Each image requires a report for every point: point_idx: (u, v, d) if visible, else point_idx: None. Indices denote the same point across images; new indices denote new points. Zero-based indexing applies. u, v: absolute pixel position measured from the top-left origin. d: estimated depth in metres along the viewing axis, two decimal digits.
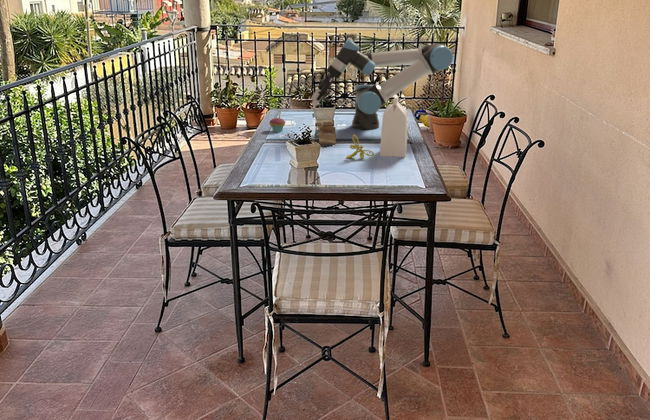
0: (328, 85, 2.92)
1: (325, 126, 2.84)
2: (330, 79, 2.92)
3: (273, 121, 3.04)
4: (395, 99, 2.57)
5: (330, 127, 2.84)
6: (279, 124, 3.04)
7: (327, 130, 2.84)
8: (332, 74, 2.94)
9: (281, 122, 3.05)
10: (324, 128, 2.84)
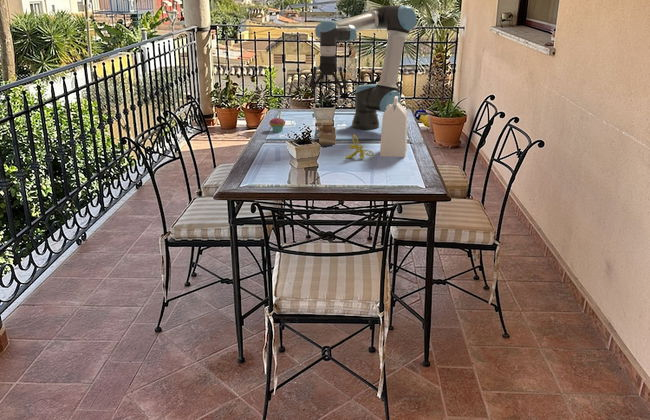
0: (342, 75, 2.76)
1: (325, 126, 2.84)
2: (341, 68, 2.74)
3: (273, 121, 3.04)
4: (395, 99, 2.57)
5: (330, 127, 2.84)
6: (279, 124, 3.04)
7: (327, 130, 2.84)
8: None
9: (281, 122, 3.05)
10: (324, 128, 2.84)
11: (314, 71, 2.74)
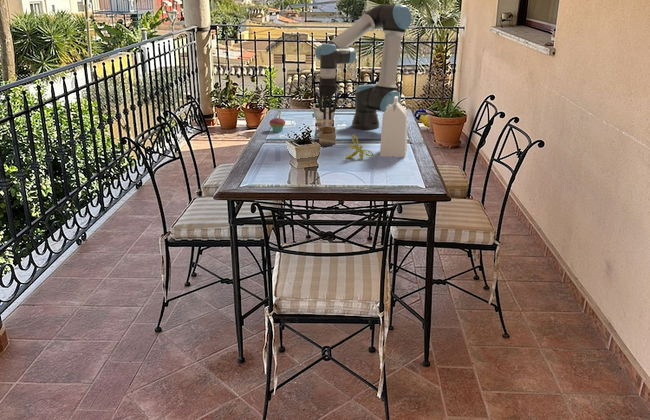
0: (337, 100, 2.80)
1: (325, 129, 2.84)
2: (340, 94, 2.78)
3: (273, 121, 3.04)
4: (395, 99, 2.57)
5: (330, 130, 2.84)
6: (279, 124, 3.04)
7: (327, 133, 2.85)
8: None
9: (281, 122, 3.05)
10: (324, 131, 2.84)
11: (317, 96, 2.78)
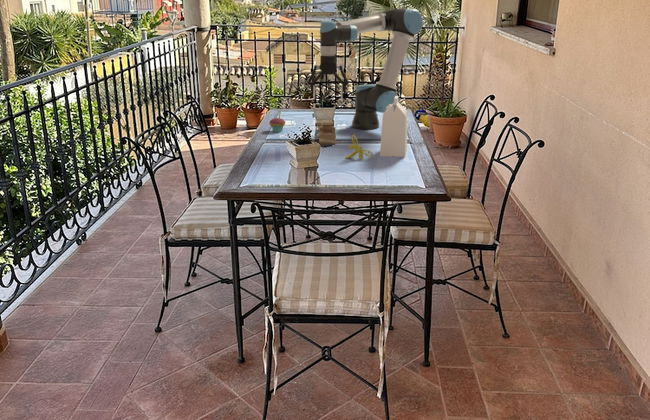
0: None
1: (325, 126, 2.84)
2: None
3: (273, 121, 3.04)
4: (395, 99, 2.57)
5: (330, 127, 2.84)
6: (279, 124, 3.04)
7: (327, 130, 2.84)
8: (335, 62, 2.79)
9: (281, 122, 3.05)
10: (324, 128, 2.84)
11: (314, 69, 2.79)
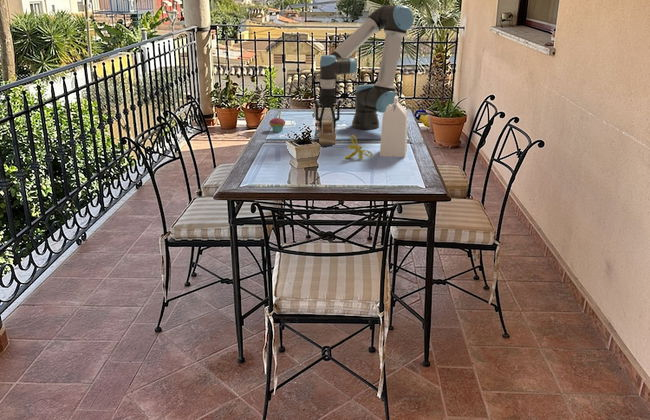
0: (339, 108, 2.88)
1: (325, 126, 2.84)
2: (340, 102, 2.86)
3: (273, 121, 3.04)
4: (395, 99, 2.57)
5: (330, 127, 2.84)
6: (279, 124, 3.04)
7: (327, 130, 2.84)
8: None
9: (281, 122, 3.05)
10: (324, 128, 2.84)
11: (316, 105, 2.86)
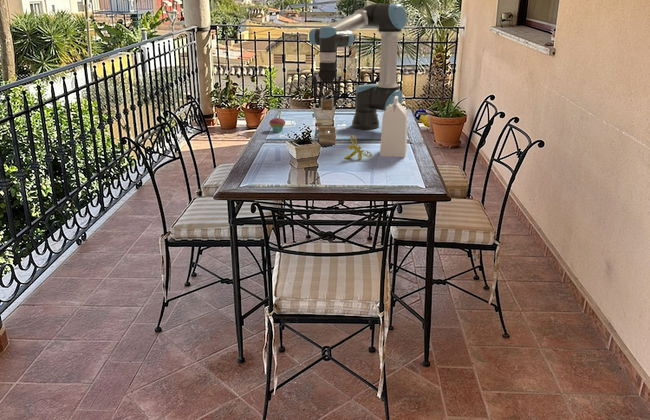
0: None
1: (324, 103, 2.64)
2: None
3: (273, 121, 3.04)
4: (395, 99, 2.57)
5: (330, 104, 2.64)
6: (279, 124, 3.04)
7: (327, 107, 2.65)
8: None
9: (281, 122, 3.05)
10: (323, 105, 2.64)
11: (315, 80, 2.66)
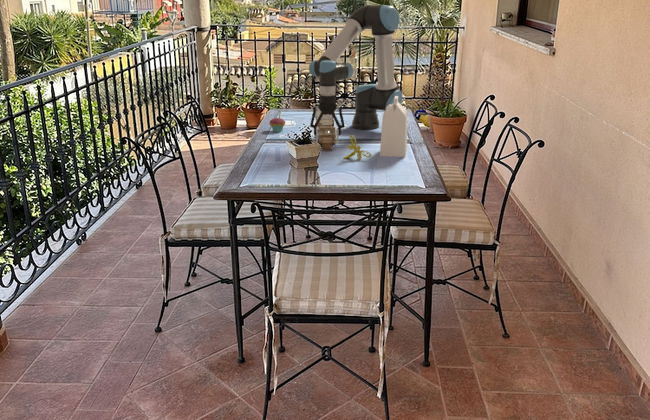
0: None
1: (325, 145, 2.71)
2: (341, 108, 2.71)
3: (273, 121, 3.04)
4: (395, 99, 2.57)
5: (330, 146, 2.71)
6: (279, 124, 3.04)
7: (327, 149, 2.71)
8: None
9: (281, 122, 3.05)
10: (323, 147, 2.71)
11: (314, 111, 2.71)
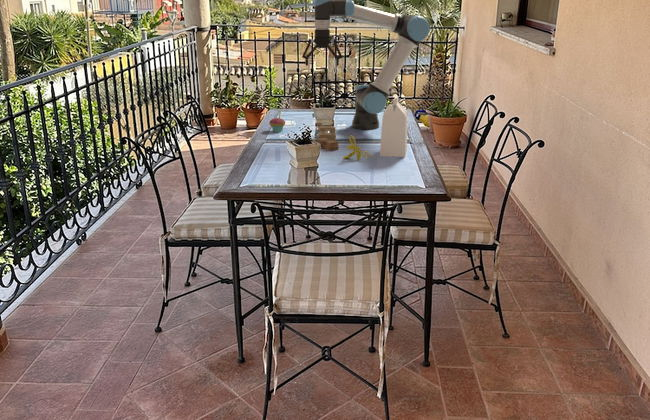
0: (337, 46, 2.89)
1: (333, 144, 2.71)
2: (335, 40, 2.87)
3: (273, 121, 3.04)
4: (395, 99, 2.57)
5: (337, 144, 2.73)
6: (279, 124, 3.04)
7: (334, 148, 2.72)
8: (329, 36, 2.86)
9: (281, 122, 3.05)
10: (332, 146, 2.71)
11: (309, 43, 2.87)
